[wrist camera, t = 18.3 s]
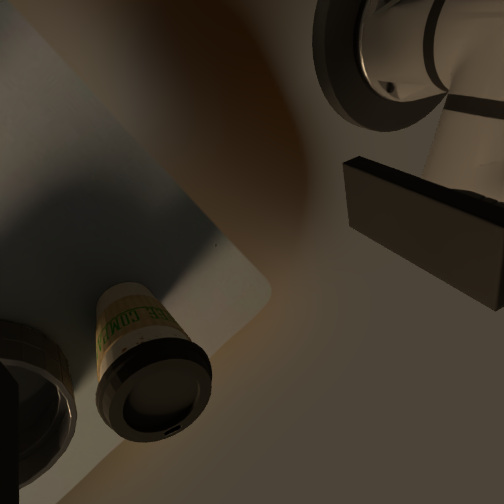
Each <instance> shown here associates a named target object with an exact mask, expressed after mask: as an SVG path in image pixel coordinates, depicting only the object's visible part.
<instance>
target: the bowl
mask: <svg viewBox="0 0 504 504" xmlns="http://www.w3.org/2000/svg"><path fill="white" fill-rule="evenodd" d="M0 361H1V362H2V363H3V365H4V366H5V367H6V369H7V370H8V371H9V372H10V374H11V375H12V376H13V378H14V379H15V380H16V381H17V383H18V384H19V489H21V488H23V487H25V486H27V485H28V484H30V483H32V482H33V481H35V480H36V479H37V478H39V477H40V476H41V475H42V474H44V473H45V472H46V471H47V470H49V469H50V468H51V467H52V466H53V465H54V464H55V463H56V461H57V460H58V459H59V458H60V457H61V456H62V454H63V453H64V452H65V451H66V449H67V447H68V445H69V443H70V441H71V439H72V437H73V435H74V433H75V427H76V420H77V410H76V404H75V397H74V391H73V385H72V378H71V373H70V369H69V364H68V360H67V359H66V357H65V356H64V354H63V353H62V351H61V350H60V348H59V347H58V345H56V344H55V343H54V342H53V341H51V340H50V339H49V338H48V337H46V336H45V335H44V334H42V333H40V332H38V331H36V330H33V329H31V328H29V327H27V326H24V325H22V324H16V323H11V322H5V321H0Z"/></svg>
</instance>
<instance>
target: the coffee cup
mask: <svg viewBox="0 0 504 504" xmlns="http://www.w3.org/2000/svg"><path fill="white" fill-rule="evenodd" d="M96 321H97V323H96V355H97V377H98V382H99V384H98V387H97V391H96V406H97V409H98V412H99V414H100V416H101V417H102V419H103V420H104V422H105V423H106V424H107V425H108V426H109V427H110V428H111V429H113V430H114V431H115V432H116V433H117V434H118V435H120V436H121V437H123V438H125V439H127V440H130V441H134V442H153V441H158V440H162V439H166V438H168V437H171V436H173V435H175V434H177V433H179V432H180V431H182V430H184V429H185V428H186V427H188V426H189V425H190V424H192V423H193V422H194V421H195V420H196V419H197V418H198V417H199V415H200V414H201V413H202V411H203V410H204V408H205V407H206V405H207V403H208V401H209V398H210V395H211V388H212V387H211V382H212V369H211V364H210V361H209V358H208V356H207V354H206V353H205V352H204V350H203V349H202V348H201V347H200V346H198V345H197V344H196V343H194V342H192V341H191V339H190V338H189V337H188V335H187V334H186V333H185V332H184V330H183V329H182V328H181V327H180V325H179V324H178V323H177V322H176V321H175V319H174V318H173V317H172V316H171V315H170V313H169V312H168V311H167V310H166V309H165V307H164V306H163V305H162V304H161V303H160V302H159V301H158V300H157V299H156V298H155V297H154V296H153V295H152V293H151V292H150V291H149V290H148V289H147V288H146V287H145V286H143V285H141V284H138V283H135V282H124V283H120V284H117V285H114V286H112V287H111V288H109V289H108V290H106V291H105V292H104V293H103V294H102V296H101V297H100V298H99V300H98V302H97V306H96Z"/></svg>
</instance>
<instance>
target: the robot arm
mask: <svg viewBox="0 0 504 504" xmlns="http://www.w3.org/2000/svg"><path fill="white" fill-rule="evenodd" d="M353 45H354V57H355V62H356V66H357V69H358V72H359V75H360V77H361V79H362V81H363V82H364V84H365V85H366V87H367V88H368V89H369V90H370V91H371V92H372V93H373V94H375V95H376V96H378V97H380V98H382V99H385V100H390V101H396V102H408V101H414V100H418V99H422V98H426V97H430V96H434V95H438V94H441V93H445V92H448V96H447V99H446V103H445V105H444V108H443V111H442V114H441V117H440V121H439V124H438V127H437V130H436V134H435V137H434V140H433V143H432V146H431V149H430V153H429V155H428V159H427V162H426V165H425V168H424V171H423V174H422V177H421V178H419V177H416V176H414V175H411V174H408V173H405V172H402V171H400V170H397V169H394V168H391V167H389V166H386V165H383V164H380V163H378V162H374V161H372V160H369V159H366V158H363V157H361V156H358V157H356V158H353V159H351V160H348V161H346V162H344V163H343V172H344V180H345V190H346V199H347V208H348V218H349V226H350V227H352V228H353V229H355V230H357V231H359V232H360V233H362V234H364V235H365V236H367V237H369V238H370V239H372V240H374V241H376V242H377V243H379V244H381V245H383V246H384V247H386V248H388V249H389V250H391V251H393V252H394V253H396V254H398V255H400V256H402V257H403V258H405V259H406V260H408V261H410V262H412V263H413V264H415V265H417V266H419V267H420V268H422V269H424V270H425V271H427V272H429V273H430V274H432V275H434V276H436V277H437V278H439V279H441V280H443V281H444V282H446V283H448V284H450V285H451V286H453V287H455V288H456V289H458V290H460V291H461V292H463V293H465V294H466V295H468V296H470V297H472V298H473V299H475V300H477V301H479V302H480V303H482V304H484V305H485V306H487V307H489V308H491V309H492V310H494V311H497V310H499V309H501V308H502V307H504V0H362V1H361V4H360V7H359V10H358V13H357V17H356V22H355V27H354V40H353ZM0 504H19V384H18V383H17V381H16V380H15V379H14V378H13V376H12V375H11V374H10V372H9V371H8V370H7V369H6V367H5V366H4V365H3V363H2V362H1V361H0Z"/></svg>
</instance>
